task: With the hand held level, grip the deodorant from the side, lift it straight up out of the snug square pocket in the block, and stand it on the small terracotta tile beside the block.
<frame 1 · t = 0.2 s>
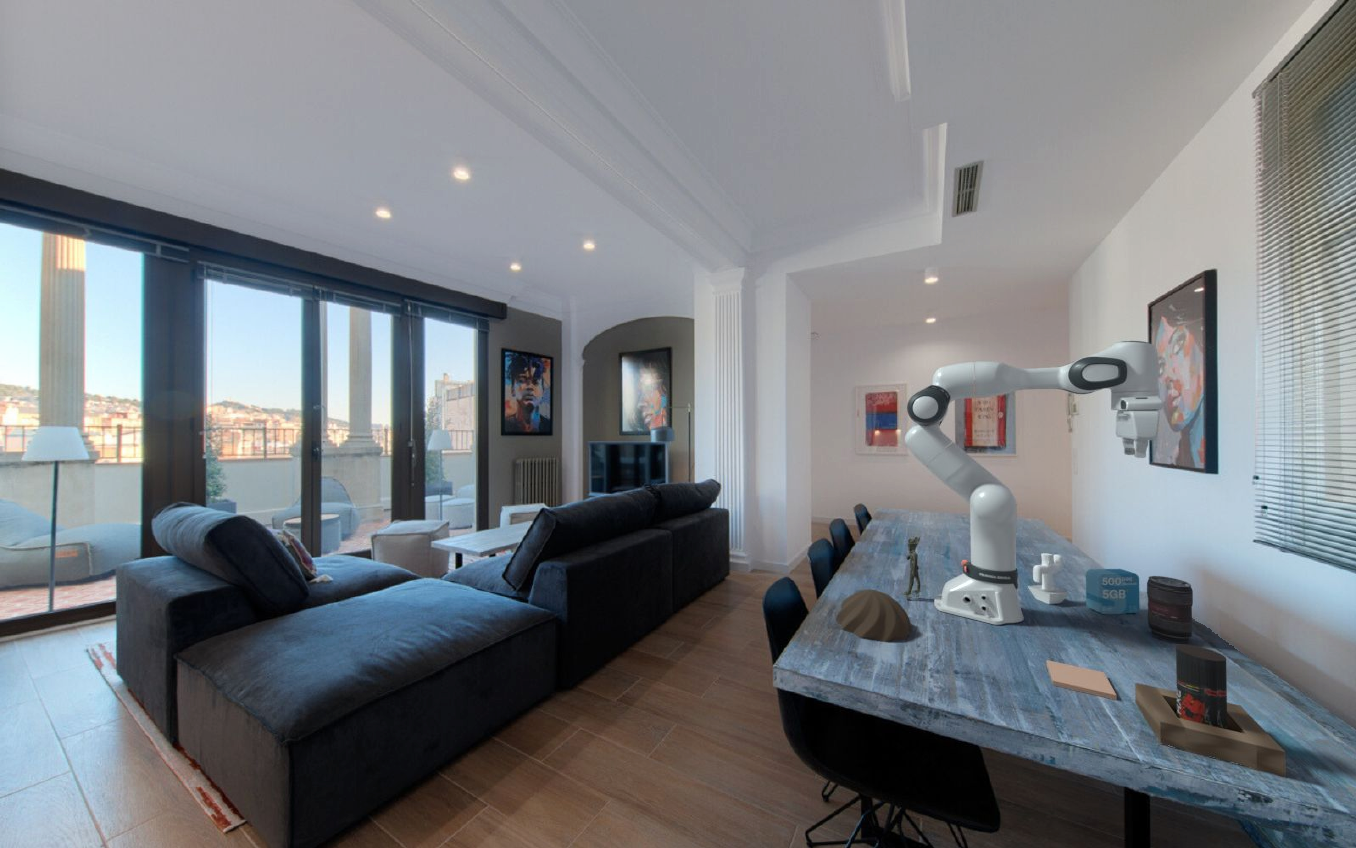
hand: (1134, 456, 117), 48 cm above the table, tool pointing down, fingers open, 8 cm apart
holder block: (1201, 735, 81), on the table
decorative dome: (872, 626, 127), on the table
camera lens: (1169, 638, 117), on the table
data package: (1112, 612, 134), on the table
terracotta tile: (1078, 681, 98), on the table
deodorant: (1201, 736, 81), resting in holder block
statue: (910, 599, 146), on the table
figurine: (1048, 601, 142), on the table
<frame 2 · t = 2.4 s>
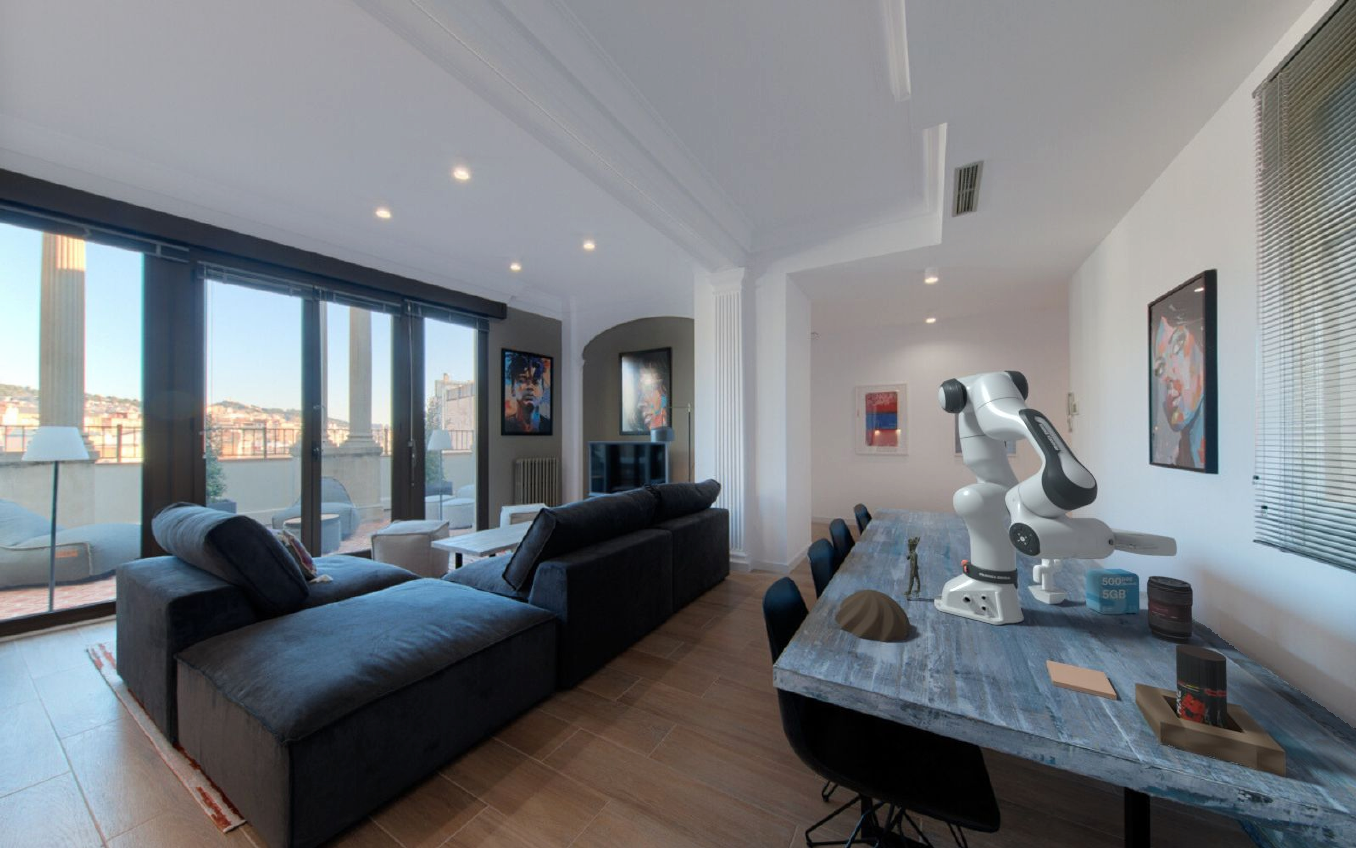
hand: (1143, 537, 100), 31 cm above the table, tool horizontal, fingers open, 8 cm apart
nothing on the table moved.
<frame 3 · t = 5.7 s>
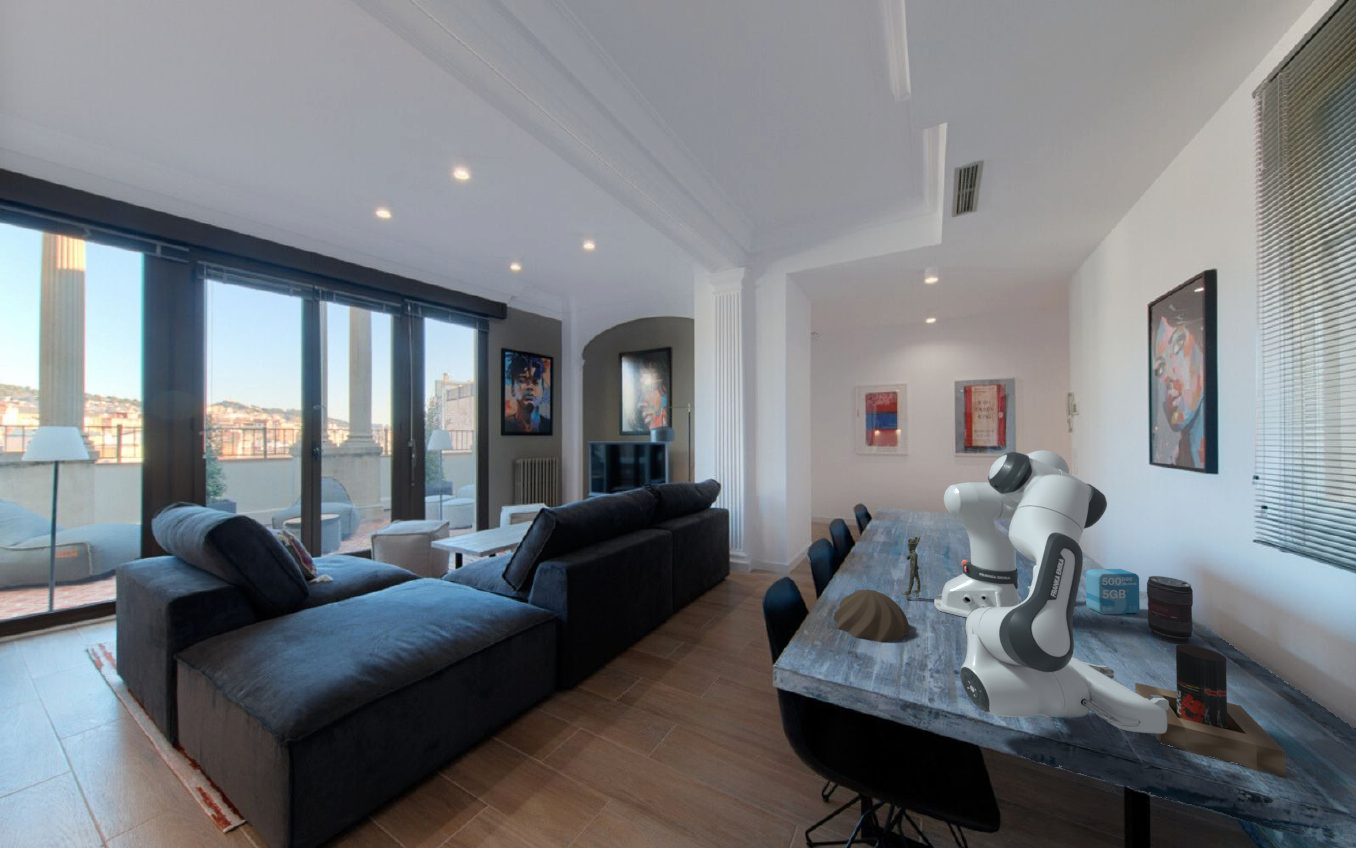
hand: (1135, 686, 81), 9 cm above the table, tool horizontal, fingers open, 8 cm apart
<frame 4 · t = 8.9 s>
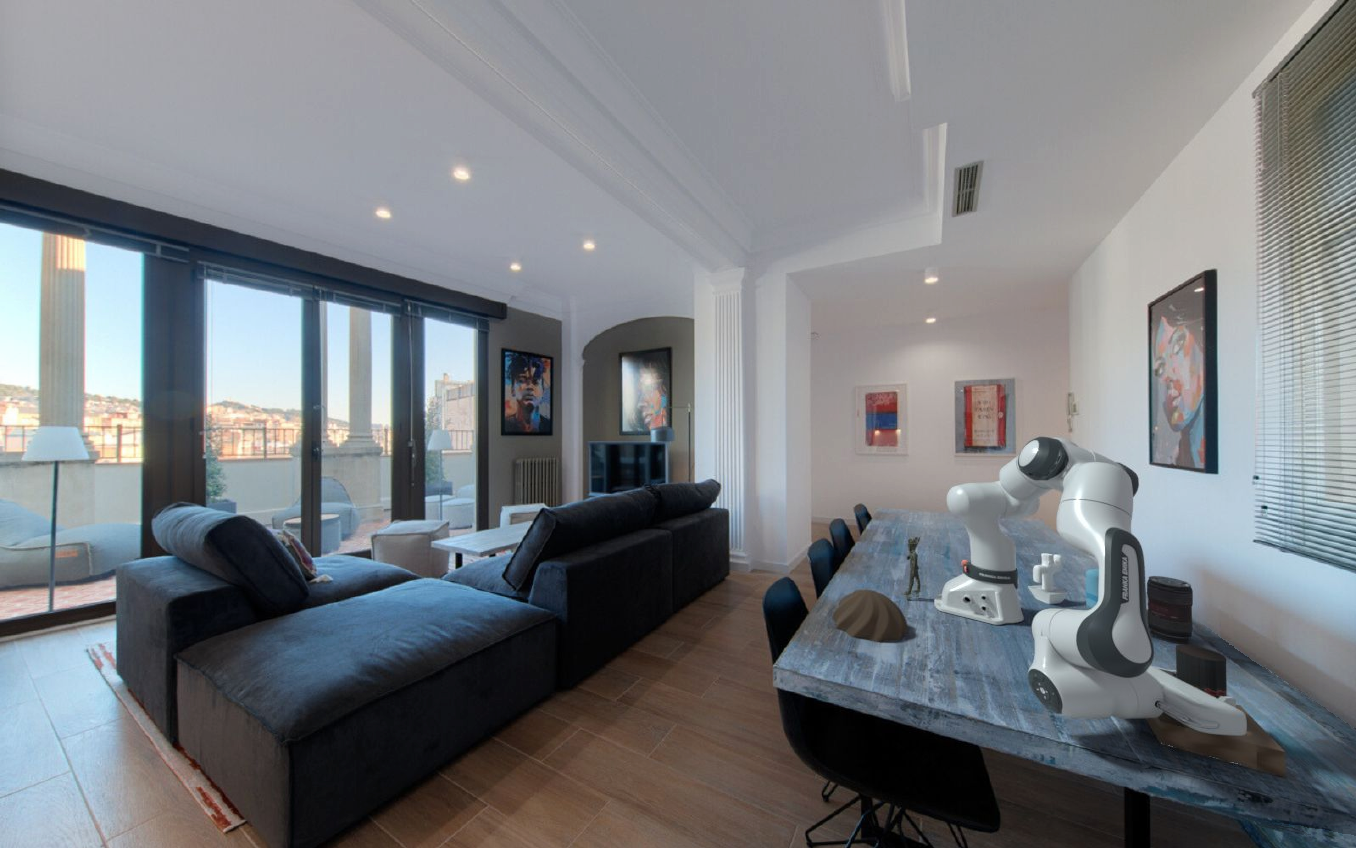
hand: (1205, 688, 81), 9 cm above the table, tool horizontal, fingers closed on deodorant, 6 cm apart
deodorant: (1201, 736, 81), resting in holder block, touching gripper
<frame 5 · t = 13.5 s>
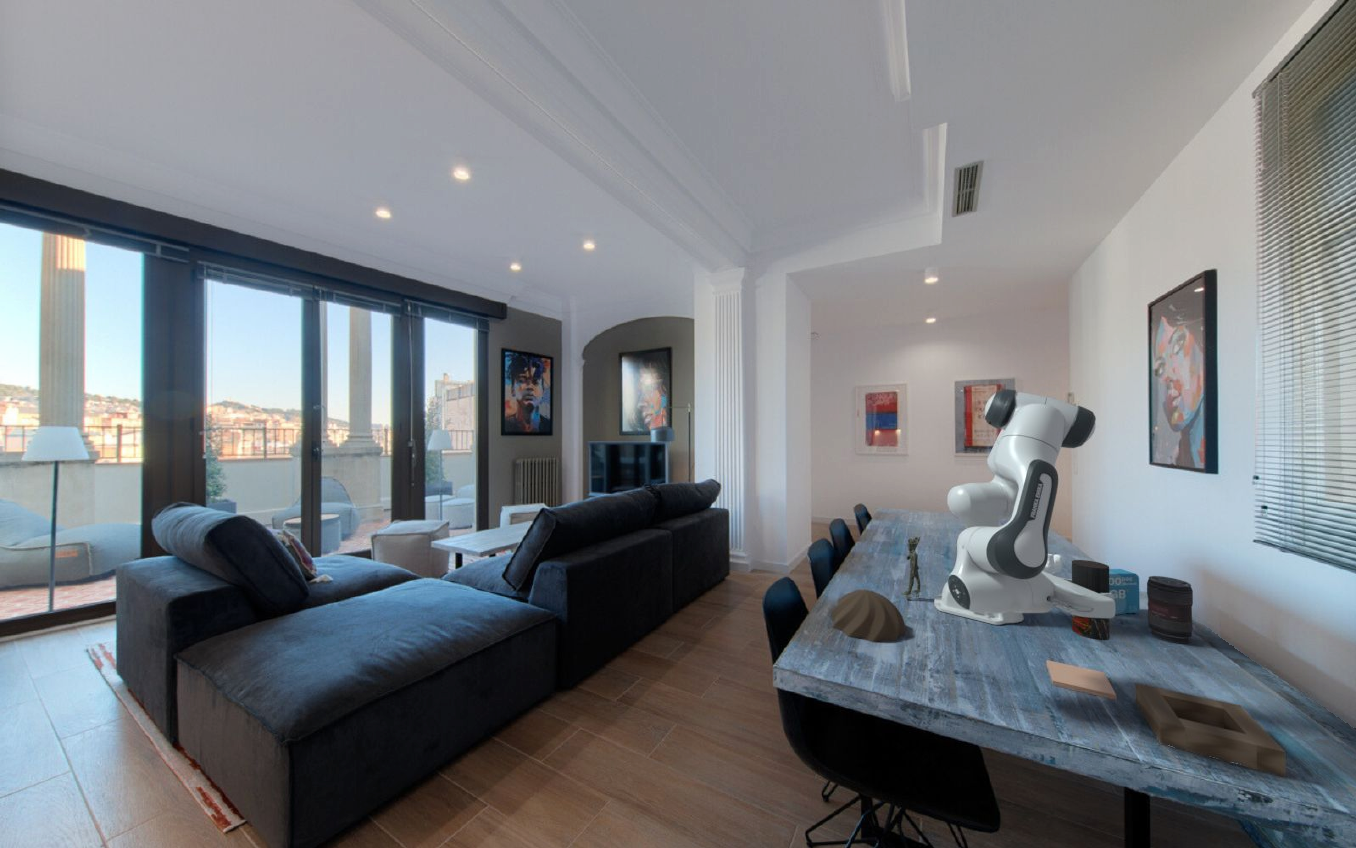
hand: (1094, 590, 96), 21 cm above the table, tool horizontal, fingers closed on deodorant, 6 cm apart
deodorant: (1090, 634, 96), point 11 cm above the table, touching gripper
when the fingers open (11 cm above the table, at t = 17.7 s): deodorant stays where it is, resting on terracotta tile.
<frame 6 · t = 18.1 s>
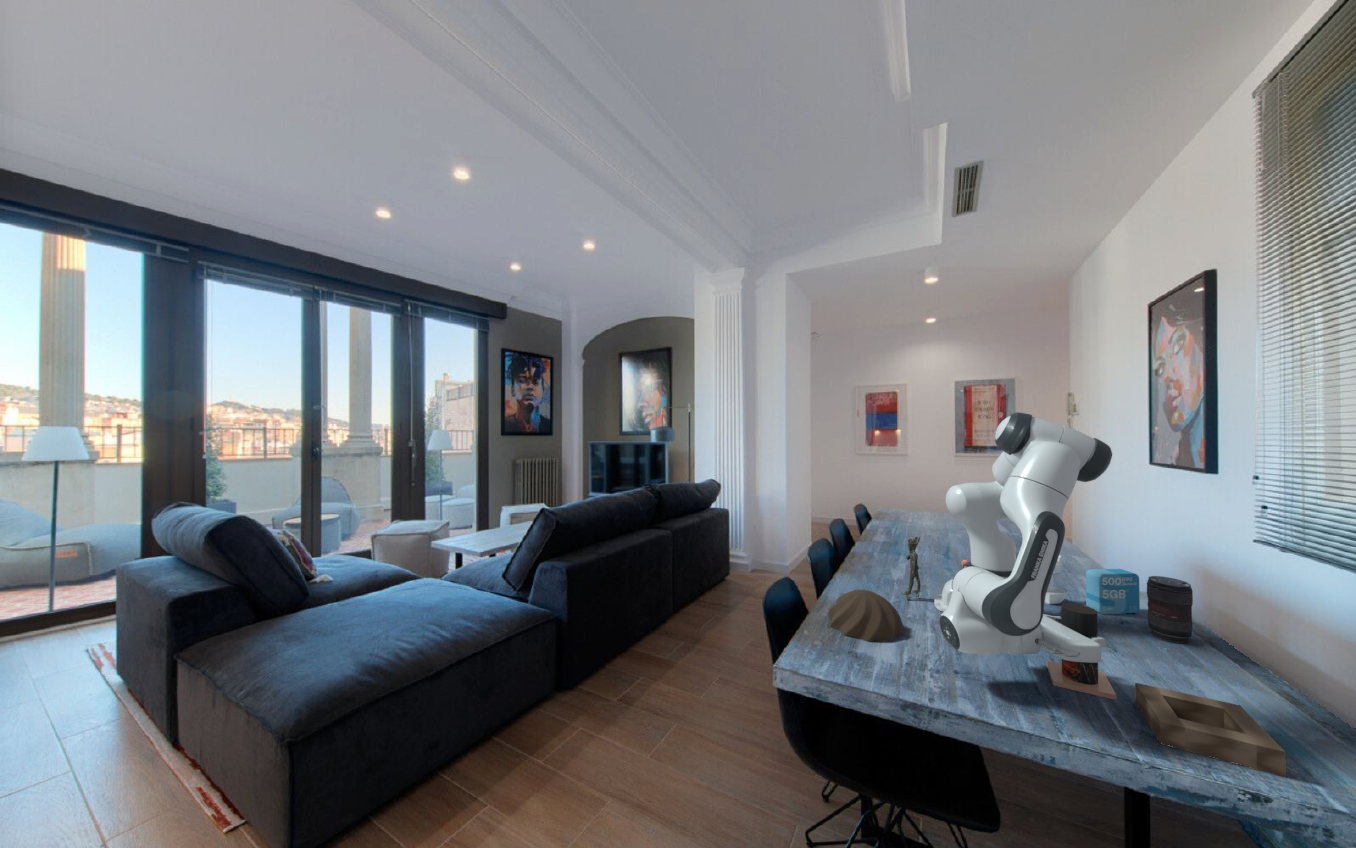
hand: (1082, 630, 98), 11 cm above the table, tool horizontal, fingers open, 8 cm apart
deodorant: (1079, 678, 98), point 1 cm above the table, touching terracotta tile
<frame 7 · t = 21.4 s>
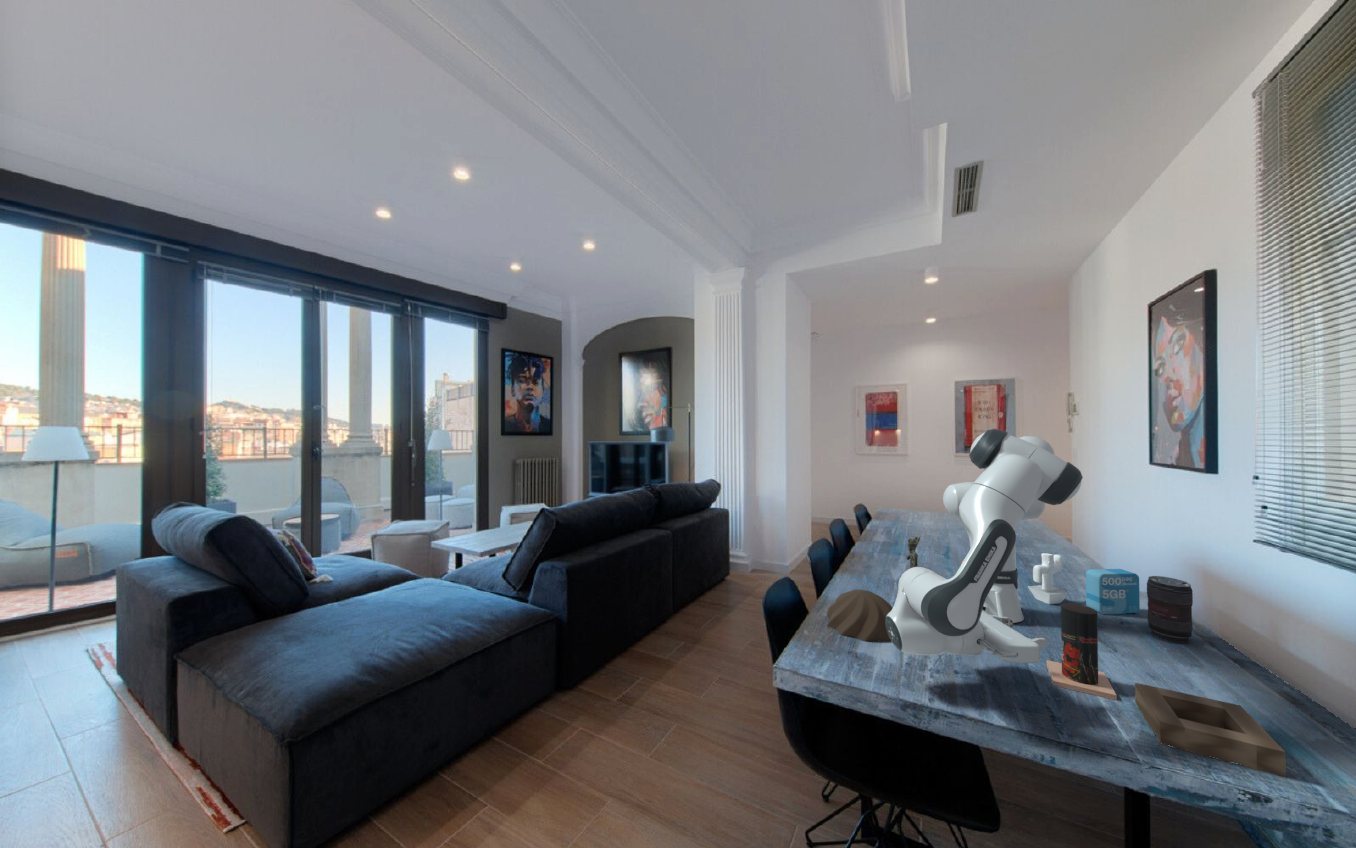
hand: (1026, 631, 98), 11 cm above the table, tool horizontal, fingers open, 8 cm apart
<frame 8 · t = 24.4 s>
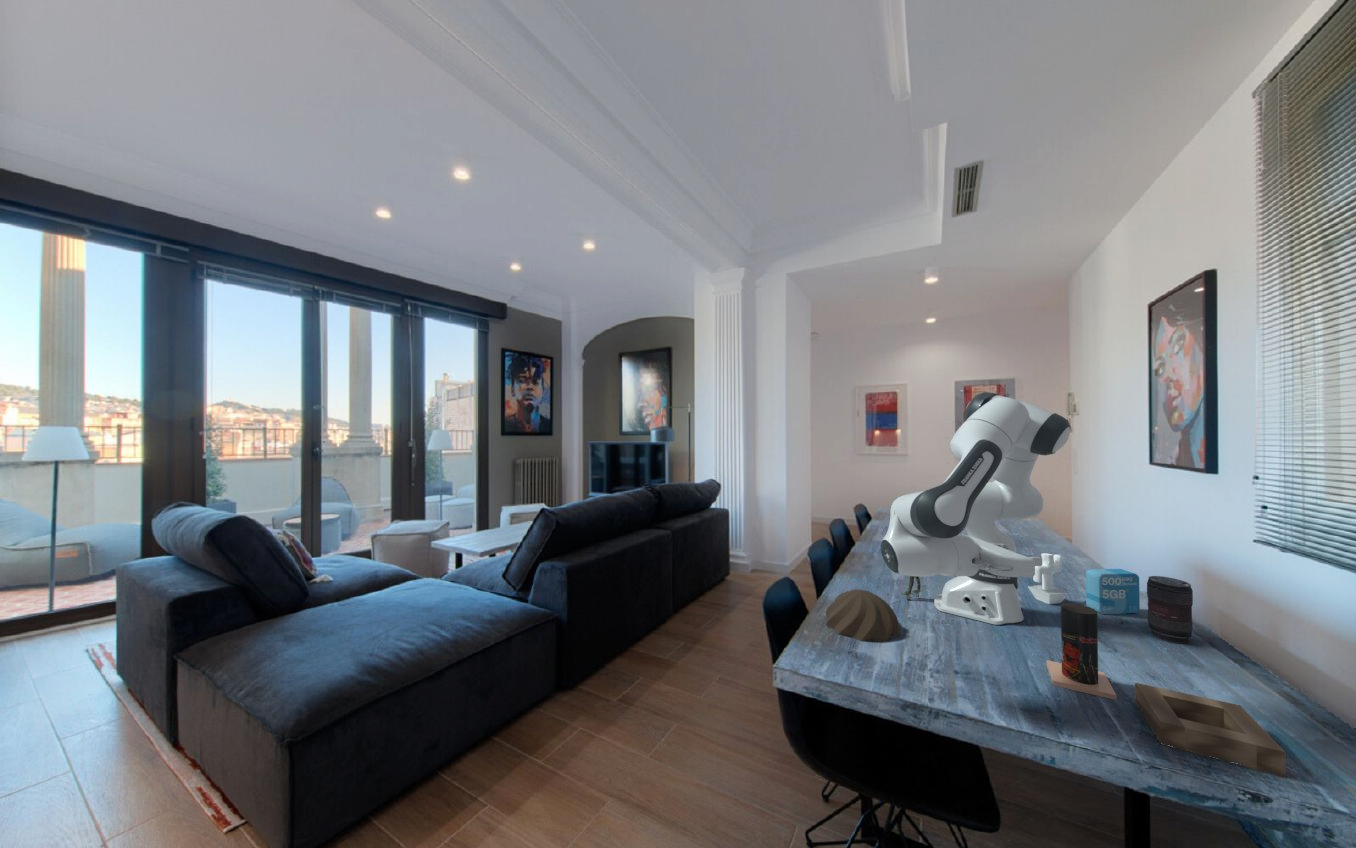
hand: (1022, 554, 98), 28 cm above the table, tool horizontal, fingers open, 8 cm apart
at the end: deodorant inside the target area on the terracotta tile (0.3 cm from its centre), point 0.8 cm above the terracotta tile's base; deodorant tilted 0°; the gripper is holding nothing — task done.
